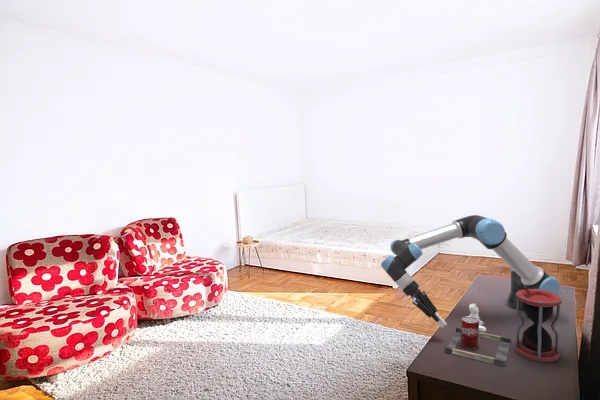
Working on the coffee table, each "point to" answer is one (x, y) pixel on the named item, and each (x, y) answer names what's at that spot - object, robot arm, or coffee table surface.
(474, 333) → the soda can
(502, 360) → the square frame
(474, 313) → the white creature statuette
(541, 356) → the hourglass
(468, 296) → the coffee table surface
